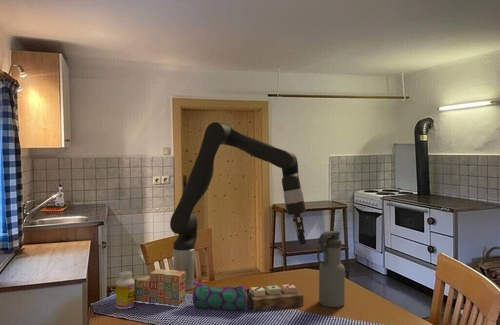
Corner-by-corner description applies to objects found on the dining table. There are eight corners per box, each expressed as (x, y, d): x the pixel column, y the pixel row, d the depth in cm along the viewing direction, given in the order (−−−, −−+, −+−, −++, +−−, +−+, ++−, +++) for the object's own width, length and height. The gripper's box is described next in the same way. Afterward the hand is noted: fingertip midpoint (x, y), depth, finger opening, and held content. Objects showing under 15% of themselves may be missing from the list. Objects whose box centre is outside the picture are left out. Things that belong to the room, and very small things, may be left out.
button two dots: (285, 294, 147) (285, 287, 147) (281, 291, 151) (281, 284, 151) (296, 293, 148) (296, 286, 148) (291, 290, 153) (291, 283, 153)
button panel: (253, 311, 139) (253, 300, 139) (244, 300, 151) (244, 290, 151) (303, 305, 145) (303, 295, 145) (290, 295, 156) (290, 285, 157)
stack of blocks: (128, 302, 147) (128, 271, 147) (136, 297, 153) (137, 267, 153) (178, 308, 142) (179, 275, 142) (185, 302, 148) (186, 270, 148)
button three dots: (254, 297, 143) (254, 290, 143) (250, 294, 147) (250, 286, 147) (265, 296, 144) (265, 289, 145) (261, 293, 149) (261, 285, 149)
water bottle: (329, 310, 141) (329, 234, 141) (313, 301, 149) (313, 230, 150) (349, 305, 145) (350, 233, 146) (333, 297, 154) (333, 229, 155)
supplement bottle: (128, 311, 138) (128, 275, 138) (111, 309, 139) (112, 274, 140) (137, 304, 145) (137, 270, 145) (121, 303, 146) (122, 269, 146)
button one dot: (270, 296, 145) (270, 288, 145) (266, 292, 149) (266, 285, 149) (280, 295, 146) (280, 287, 146) (276, 291, 151) (276, 284, 151)
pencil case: (249, 305, 145) (249, 280, 145) (246, 314, 136) (246, 287, 136) (196, 303, 147) (196, 278, 147) (190, 311, 138) (190, 285, 138)
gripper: (284, 202, 156) (291, 241, 154) (285, 203, 141) (293, 246, 140) (302, 199, 155) (309, 238, 154) (305, 200, 141) (313, 243, 140)
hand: (301, 242), depth 147 cm, fingers open, 8 cm apart
